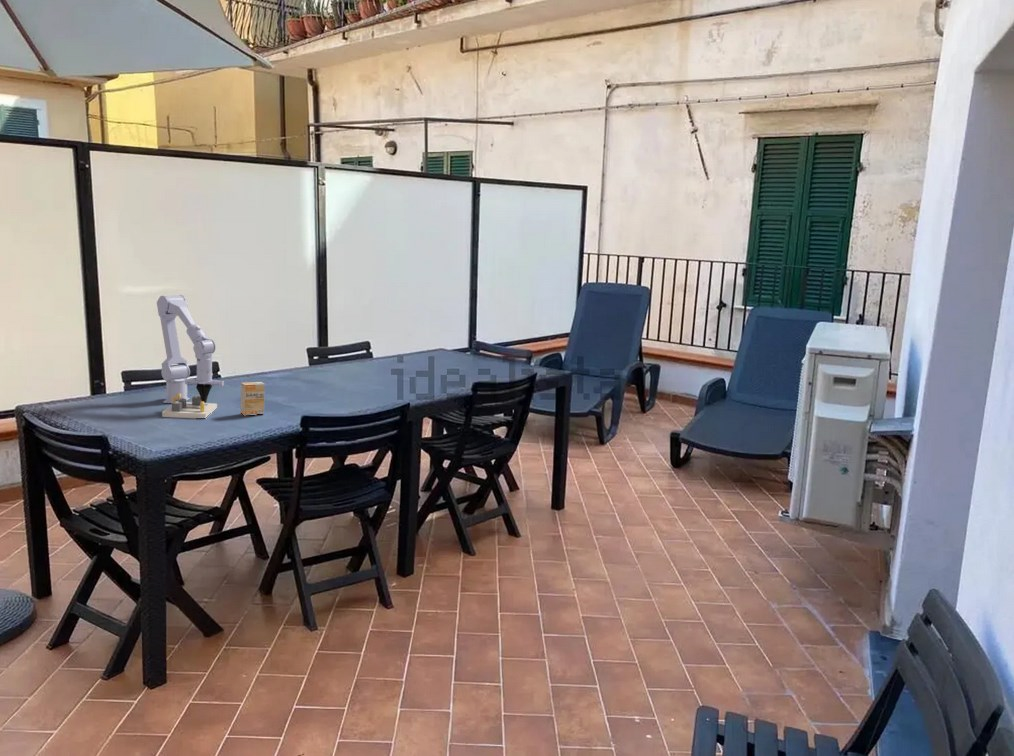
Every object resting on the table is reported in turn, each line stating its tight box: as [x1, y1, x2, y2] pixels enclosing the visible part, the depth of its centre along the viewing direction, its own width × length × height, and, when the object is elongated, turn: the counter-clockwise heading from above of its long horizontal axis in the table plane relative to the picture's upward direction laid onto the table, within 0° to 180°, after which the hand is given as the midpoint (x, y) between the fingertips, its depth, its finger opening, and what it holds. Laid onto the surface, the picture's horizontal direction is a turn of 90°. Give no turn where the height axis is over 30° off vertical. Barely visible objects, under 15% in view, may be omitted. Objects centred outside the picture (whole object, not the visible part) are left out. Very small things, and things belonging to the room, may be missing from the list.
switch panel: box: [161, 394, 218, 419], centre depth 298 cm, size 17×16×6 cm
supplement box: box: [239, 381, 266, 416], centre depth 301 cm, size 8×5×13 cm, turn 126°
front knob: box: [171, 401, 182, 411], centre depth 292 cm, size 3×3×3 cm
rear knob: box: [191, 394, 202, 405], centre depth 303 cm, size 3×3×3 cm
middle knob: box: [176, 398, 187, 408], centre depth 297 cm, size 3×3×3 cm
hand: (204, 402), depth 303 cm, fingers closed
